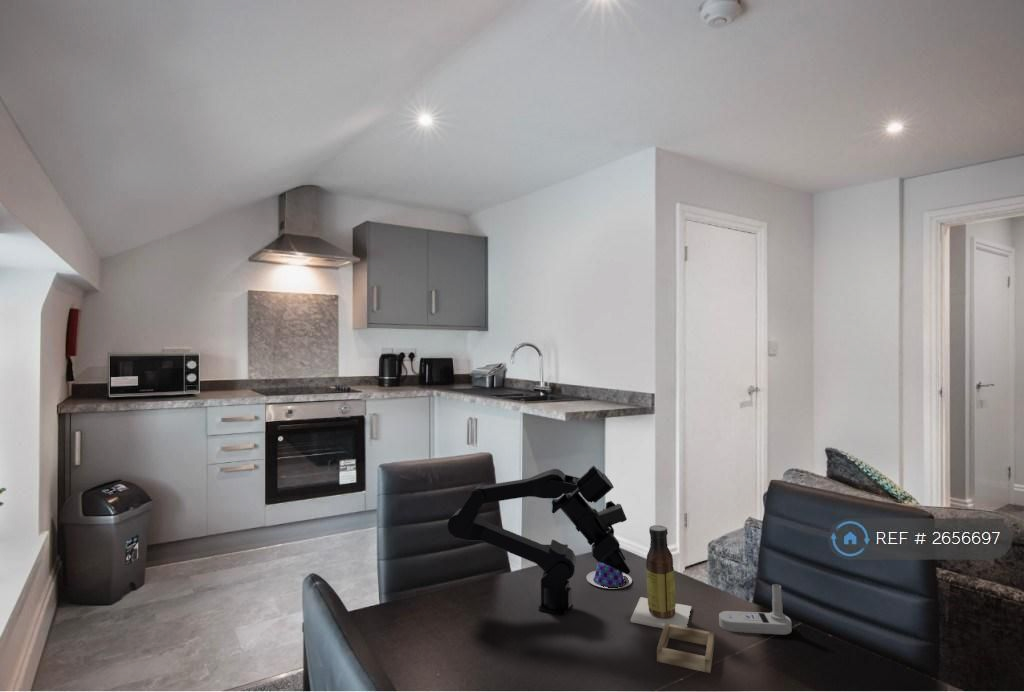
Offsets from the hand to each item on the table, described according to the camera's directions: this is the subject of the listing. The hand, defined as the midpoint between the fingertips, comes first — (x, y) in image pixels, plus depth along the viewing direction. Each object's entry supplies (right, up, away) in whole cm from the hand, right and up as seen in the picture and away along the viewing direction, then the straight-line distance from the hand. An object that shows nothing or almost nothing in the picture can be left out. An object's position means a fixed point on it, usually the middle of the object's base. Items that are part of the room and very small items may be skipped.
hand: (626, 566), depth 129 cm
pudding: (-1, -11, +18) cm, 21 cm away
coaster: (+8, -11, -1) cm, 13 cm away
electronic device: (+27, -11, -7) cm, 30 cm away
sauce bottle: (+8, -10, -1) cm, 13 cm away
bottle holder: (+9, -11, -17) cm, 22 cm away
